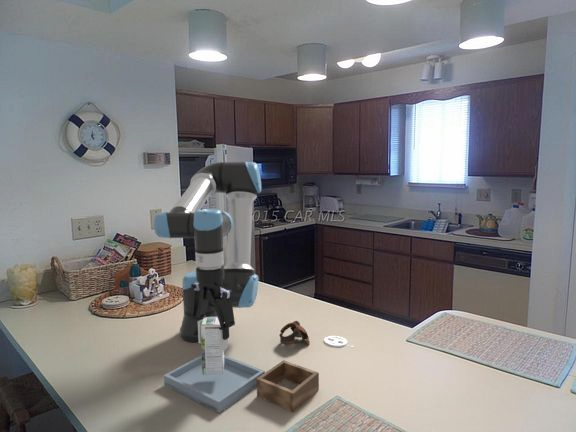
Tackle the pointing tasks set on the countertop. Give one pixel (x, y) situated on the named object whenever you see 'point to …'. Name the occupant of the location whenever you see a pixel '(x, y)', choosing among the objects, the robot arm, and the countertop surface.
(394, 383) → the countertop surface
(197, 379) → the grey tray
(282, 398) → the wooden cube shelf
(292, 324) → the brown curved piece
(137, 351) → the countertop surface
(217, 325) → the syrup box
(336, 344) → the pendant
